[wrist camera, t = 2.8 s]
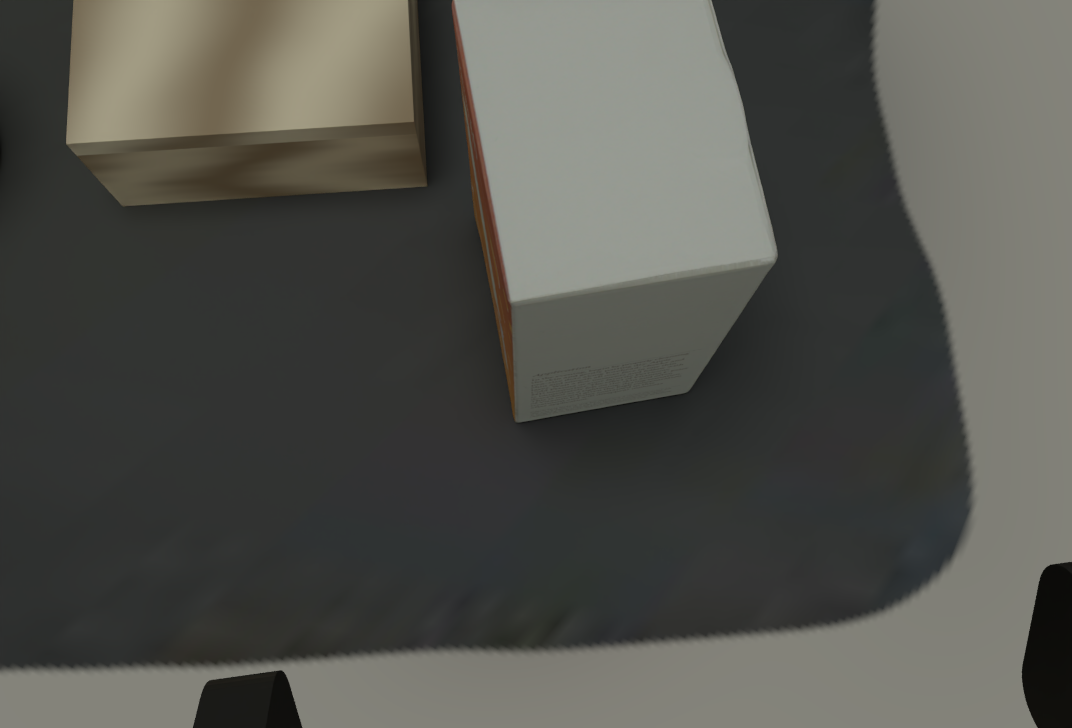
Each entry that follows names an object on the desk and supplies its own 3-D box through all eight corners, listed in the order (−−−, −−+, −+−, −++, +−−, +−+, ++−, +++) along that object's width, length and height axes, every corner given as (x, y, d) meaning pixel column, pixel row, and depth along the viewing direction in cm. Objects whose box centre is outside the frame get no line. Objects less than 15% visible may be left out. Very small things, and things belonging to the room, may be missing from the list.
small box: (471, 214, 37) (446, -12, 24) (642, 185, 37) (705, -50, 24) (511, 430, 34) (506, 306, 22) (692, 397, 35) (789, 258, 22)
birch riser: (125, 209, 37) (66, 144, 32) (134, -48, 40) (80, -144, 35) (428, 189, 37) (414, 121, 32) (414, -64, 40) (399, -161, 35)
